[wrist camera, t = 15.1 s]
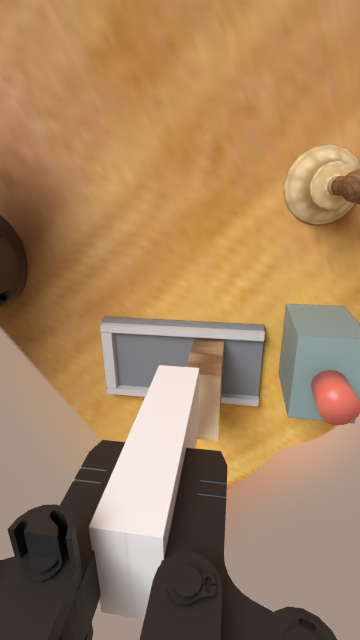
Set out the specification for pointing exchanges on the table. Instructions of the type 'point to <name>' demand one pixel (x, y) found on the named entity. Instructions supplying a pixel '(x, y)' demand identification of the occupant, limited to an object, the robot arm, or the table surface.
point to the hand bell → (323, 184)
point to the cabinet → (316, 353)
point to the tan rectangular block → (208, 384)
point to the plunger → (335, 397)
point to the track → (179, 354)
